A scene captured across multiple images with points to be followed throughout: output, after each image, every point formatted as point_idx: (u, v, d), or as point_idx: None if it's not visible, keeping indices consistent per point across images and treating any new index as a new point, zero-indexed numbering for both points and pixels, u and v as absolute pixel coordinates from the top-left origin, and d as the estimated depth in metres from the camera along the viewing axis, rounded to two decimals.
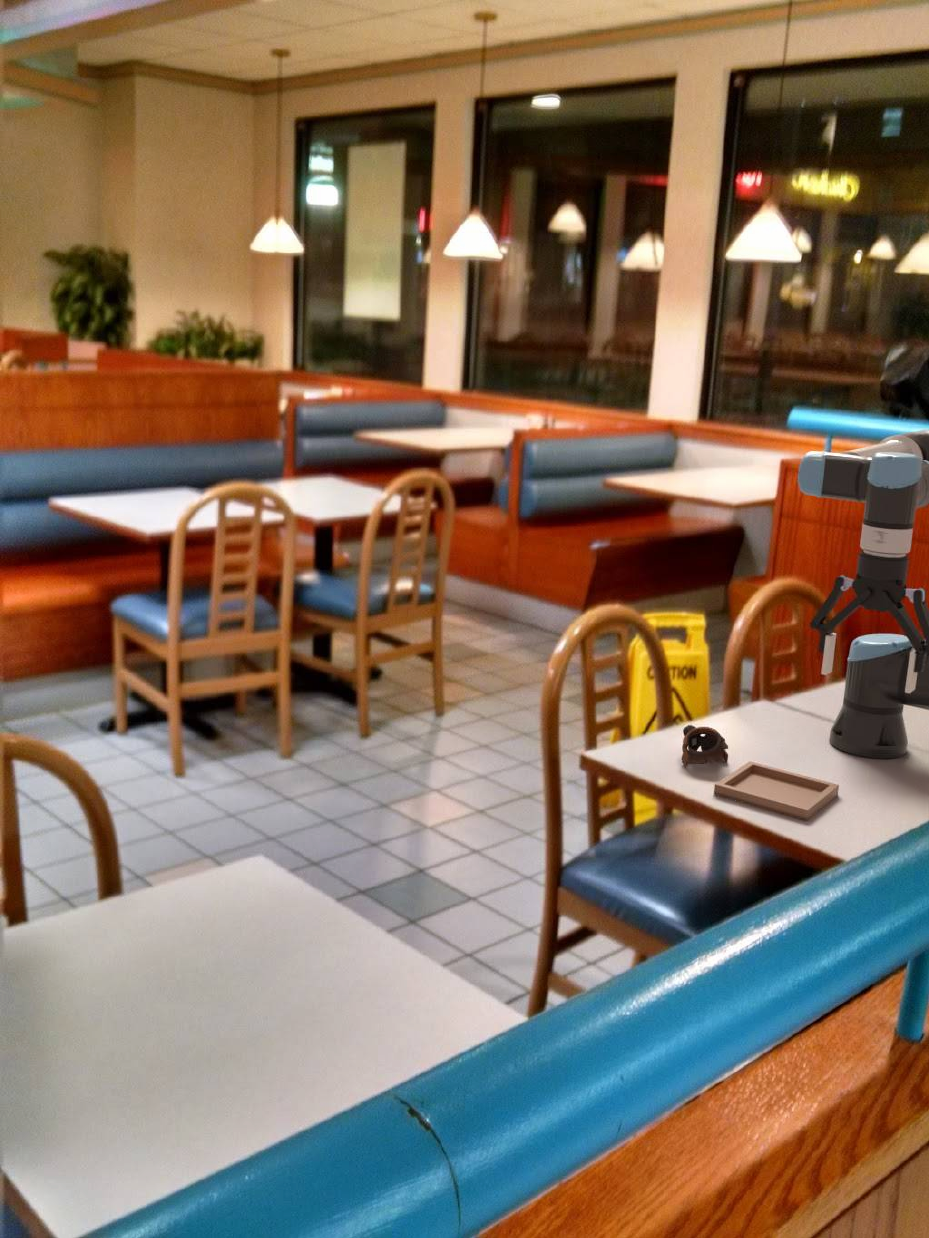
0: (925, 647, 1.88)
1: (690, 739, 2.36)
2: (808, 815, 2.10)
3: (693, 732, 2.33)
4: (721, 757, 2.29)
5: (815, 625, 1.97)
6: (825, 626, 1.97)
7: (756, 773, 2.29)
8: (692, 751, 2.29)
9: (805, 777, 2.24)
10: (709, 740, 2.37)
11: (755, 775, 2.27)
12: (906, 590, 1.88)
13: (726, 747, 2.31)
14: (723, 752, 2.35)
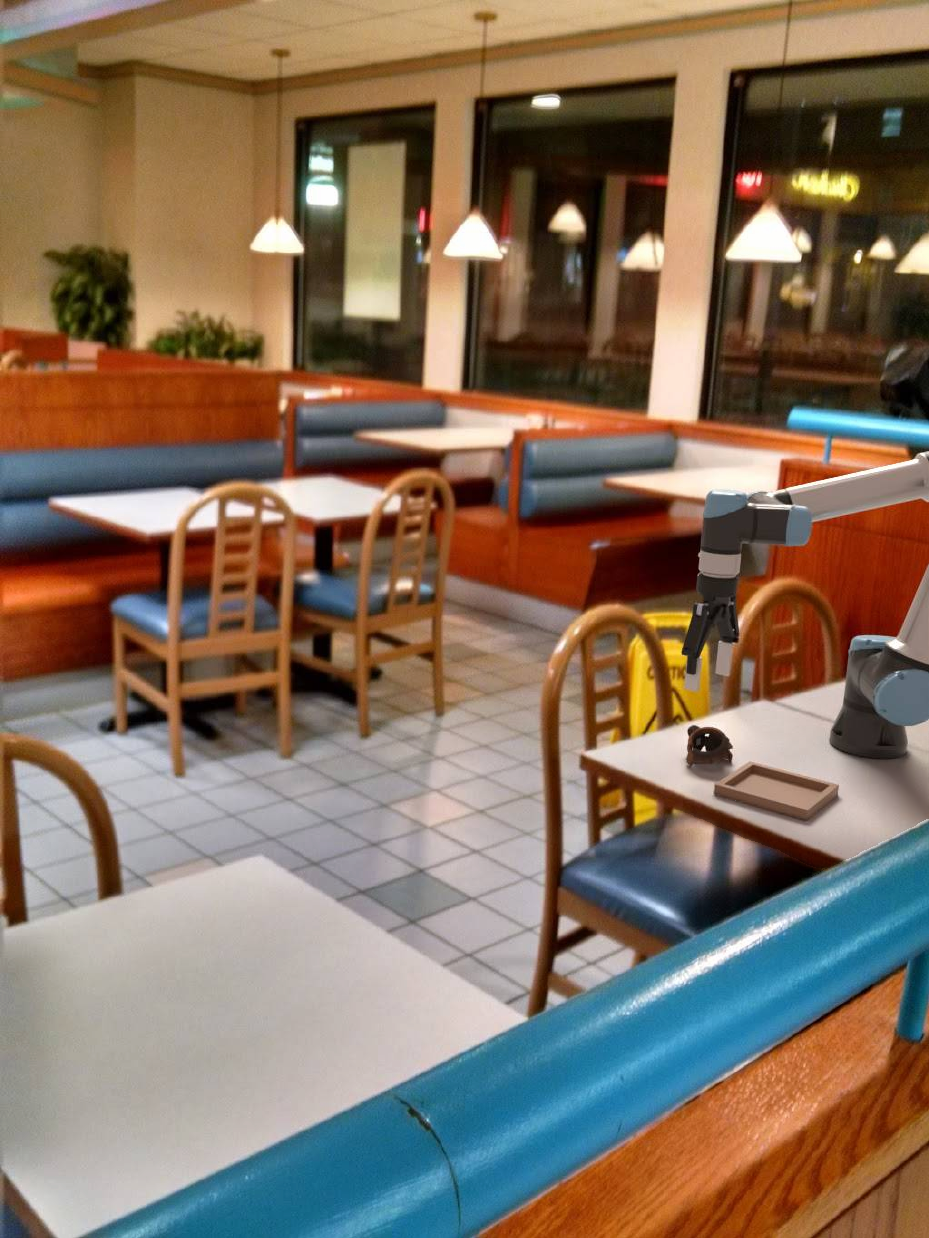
0: None
1: (694, 739, 2.36)
2: (808, 815, 2.10)
3: (698, 732, 2.33)
4: (726, 757, 2.29)
5: None
6: None
7: (756, 773, 2.29)
8: (697, 751, 2.29)
9: (805, 777, 2.24)
10: (713, 740, 2.37)
11: (755, 775, 2.27)
12: (703, 604, 2.24)
13: (731, 747, 2.31)
14: (727, 752, 2.35)
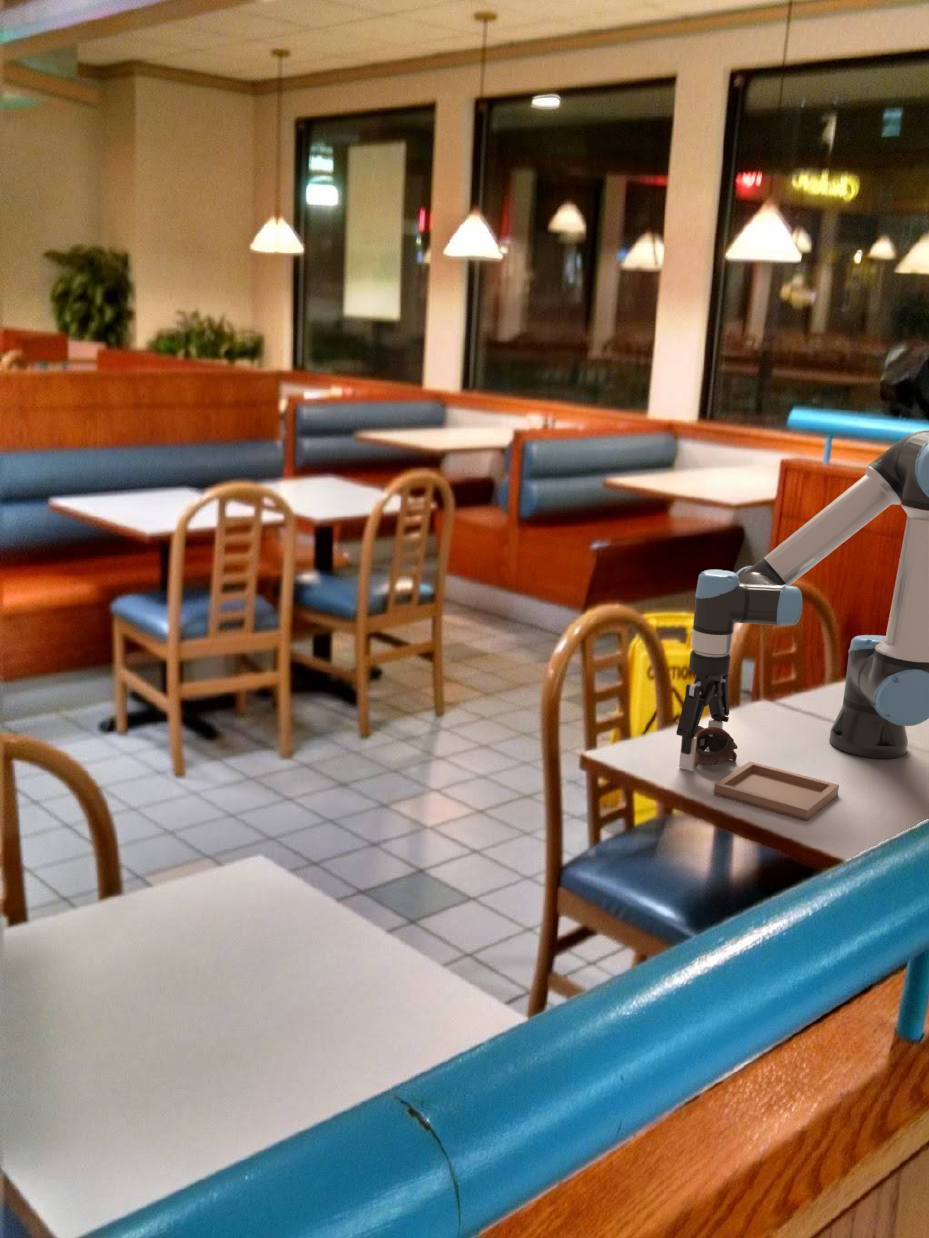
0: None
1: (698, 740, 2.36)
2: (808, 815, 2.10)
3: (702, 733, 2.33)
4: (731, 757, 2.29)
5: None
6: None
7: (756, 773, 2.29)
8: (702, 752, 2.29)
9: (805, 777, 2.24)
10: (717, 740, 2.37)
11: (755, 775, 2.27)
12: (695, 683, 2.28)
13: (735, 747, 2.31)
14: (731, 752, 2.35)
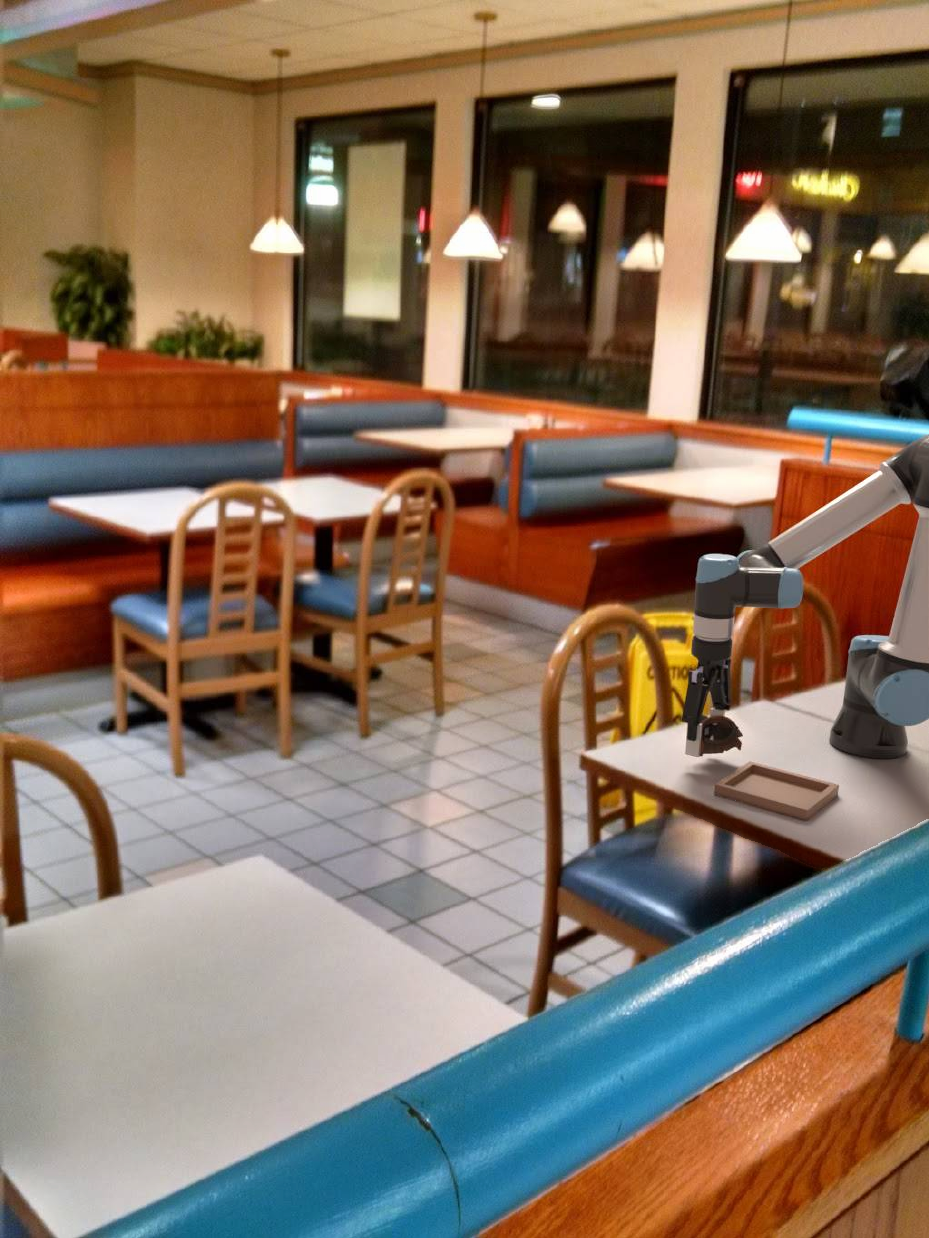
0: None
1: (703, 729, 2.34)
2: (808, 815, 2.10)
3: (706, 721, 2.32)
4: (737, 745, 2.28)
5: None
6: None
7: (756, 773, 2.29)
8: (708, 741, 2.28)
9: (805, 777, 2.24)
10: (721, 729, 2.35)
11: (755, 775, 2.27)
12: (698, 669, 2.27)
13: (741, 735, 2.30)
14: (736, 740, 2.34)
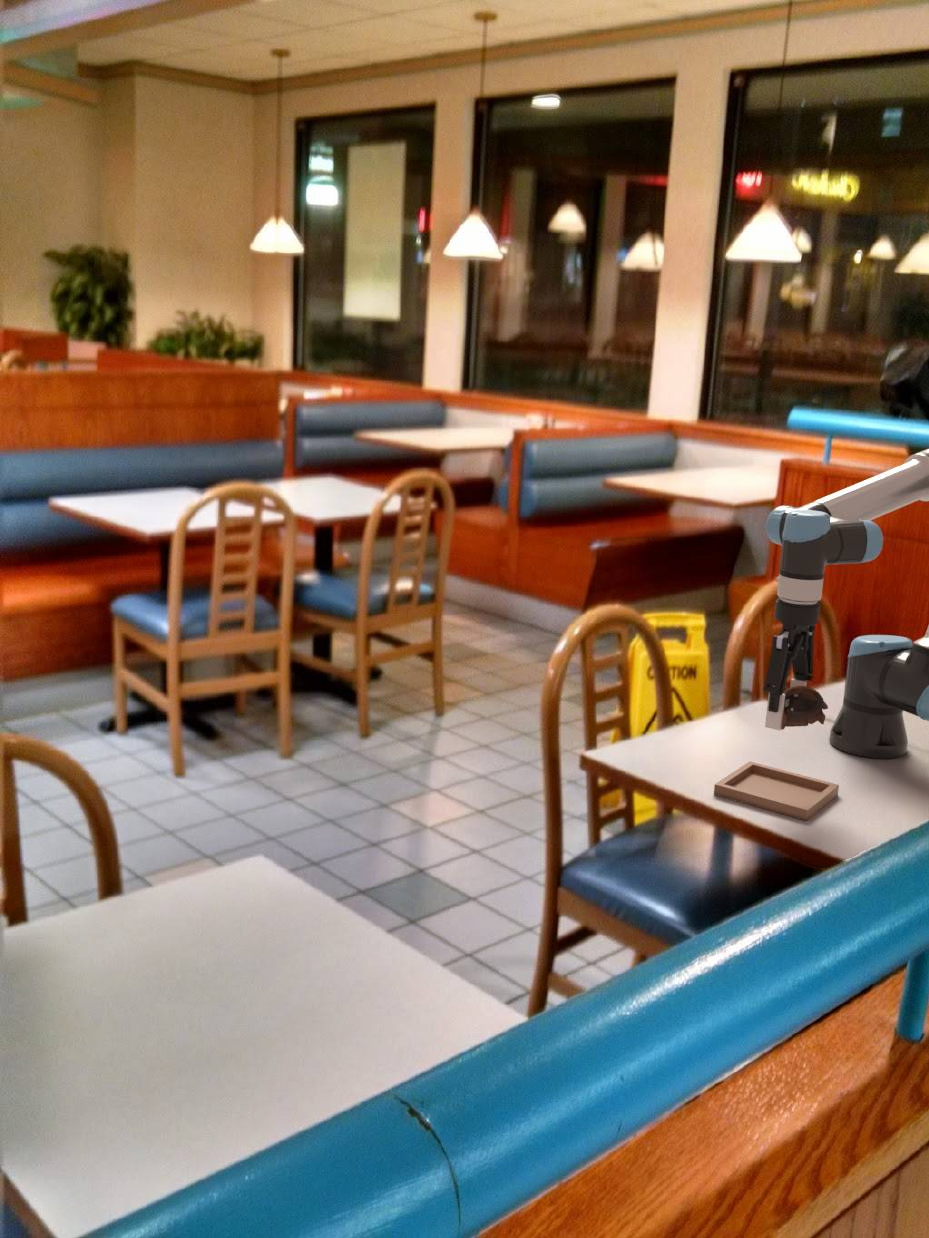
0: None
1: None
2: (808, 815, 2.10)
3: (789, 692, 2.14)
4: (823, 718, 2.10)
5: None
6: None
7: (756, 773, 2.29)
8: (791, 712, 2.10)
9: (805, 777, 2.24)
10: (803, 701, 2.17)
11: (755, 775, 2.27)
12: (782, 634, 2.09)
13: (826, 707, 2.12)
14: None
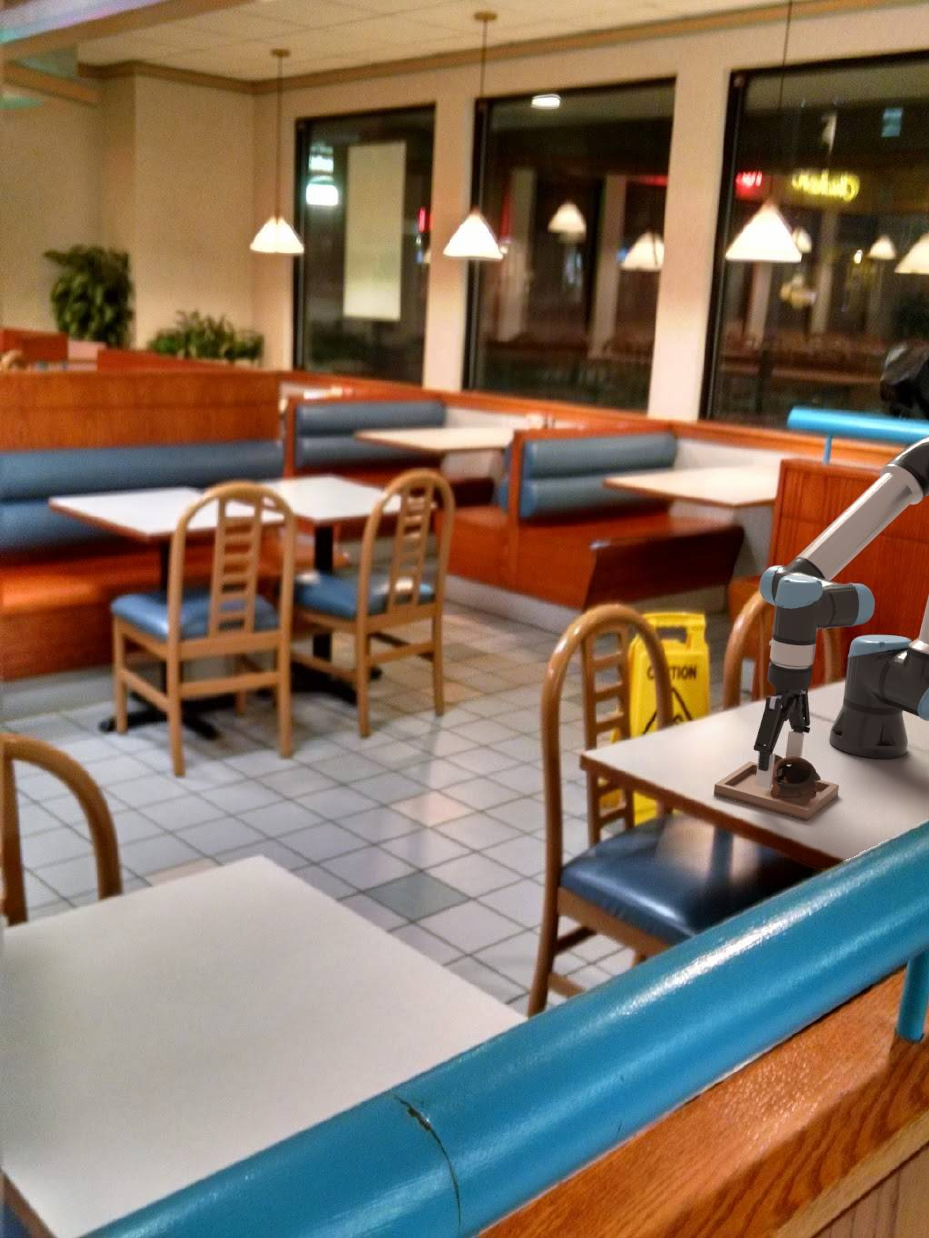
0: None
1: None
2: (808, 815, 2.10)
3: (782, 763, 2.17)
4: (815, 789, 2.14)
5: None
6: None
7: None
8: (785, 784, 2.13)
9: None
10: (796, 770, 2.21)
11: (755, 775, 2.27)
12: (776, 696, 2.12)
13: (819, 778, 2.15)
14: None
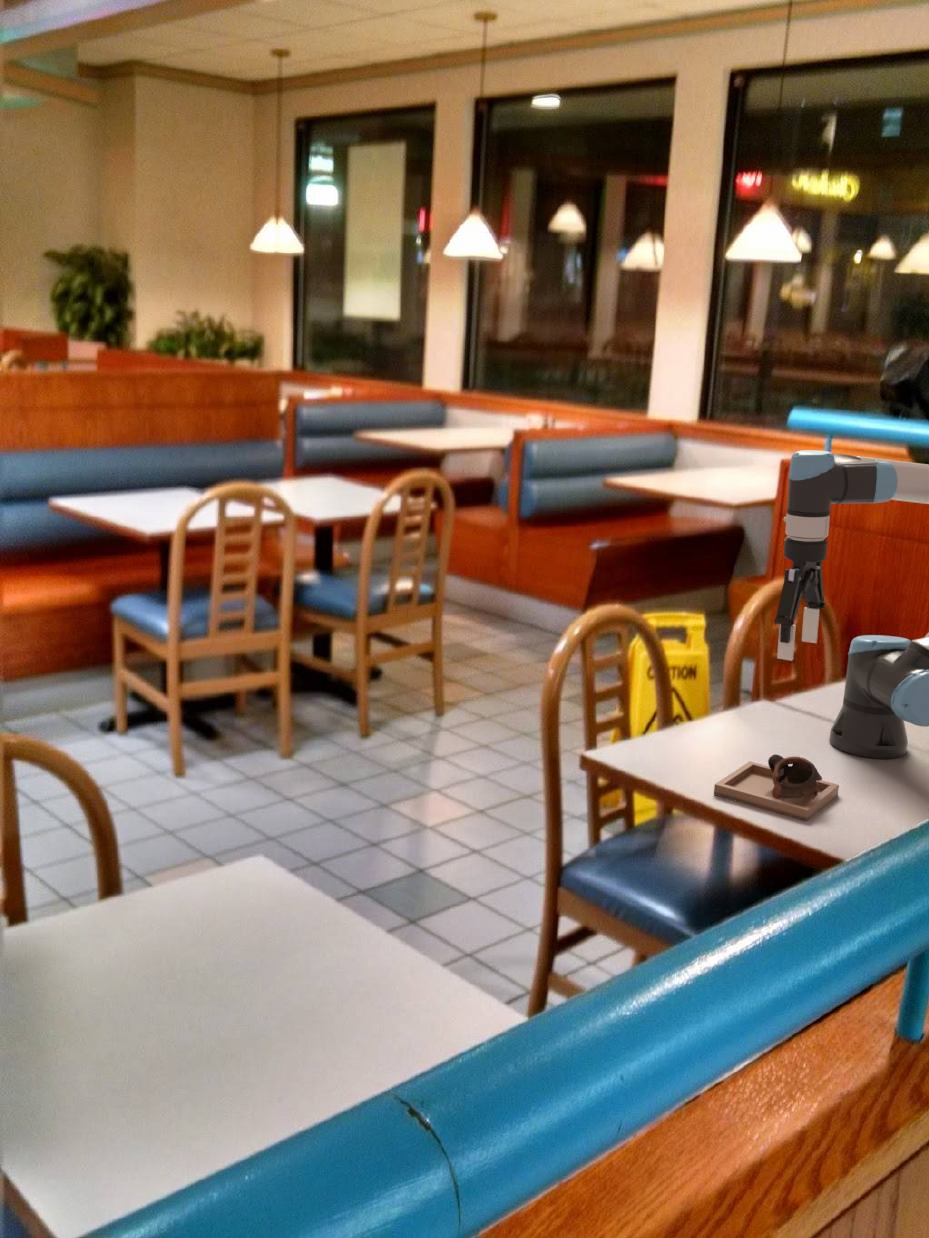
0: None
1: None
2: (808, 815, 2.10)
3: (783, 763, 2.17)
4: (817, 789, 2.14)
5: None
6: None
7: (756, 773, 2.29)
8: (786, 784, 2.13)
9: None
10: (797, 770, 2.21)
11: (755, 775, 2.27)
12: (793, 570, 2.17)
13: (820, 778, 2.15)
14: None
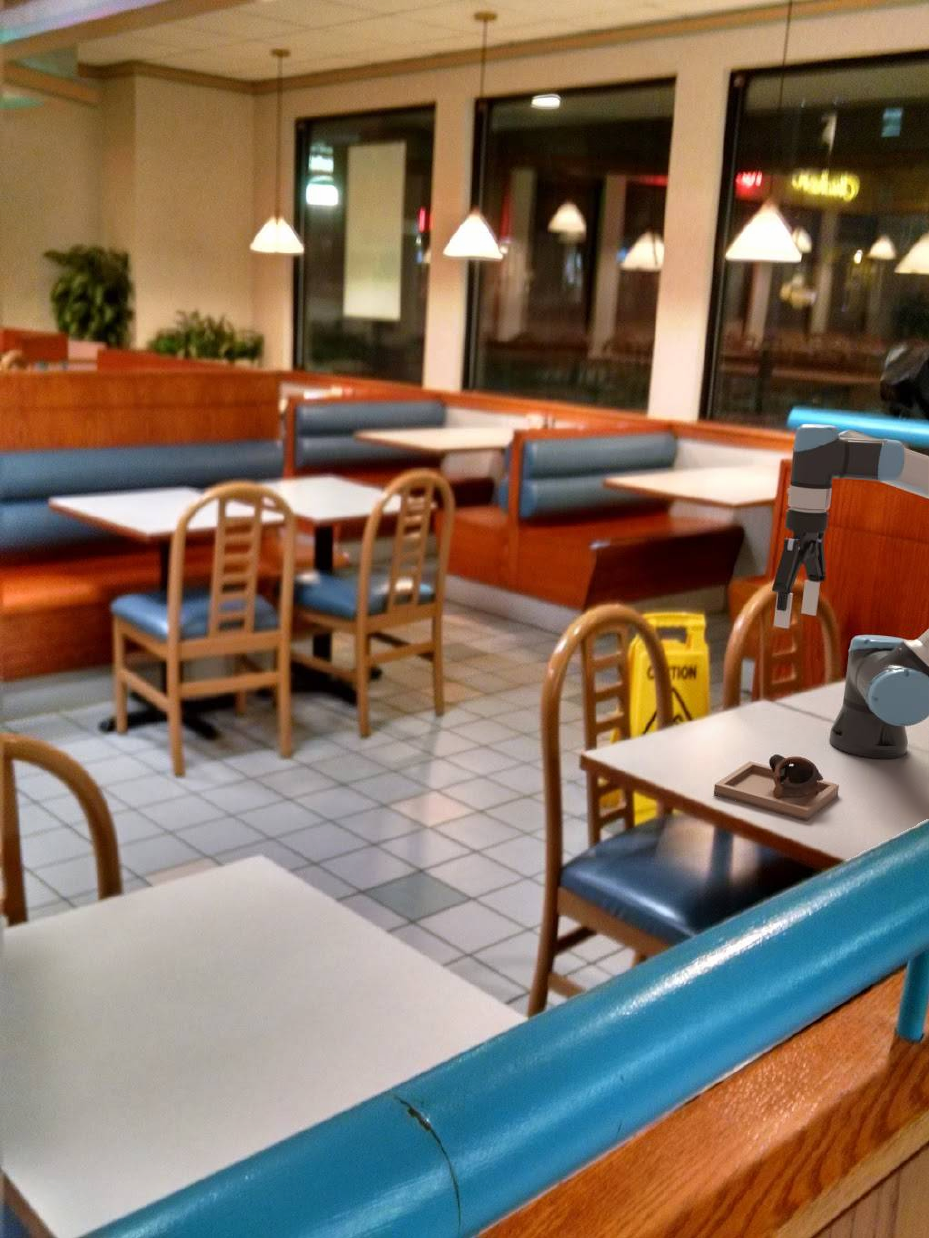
0: None
1: None
2: (808, 815, 2.10)
3: (784, 763, 2.17)
4: (818, 789, 2.14)
5: None
6: None
7: (756, 773, 2.29)
8: (787, 784, 2.13)
9: None
10: (798, 770, 2.21)
11: (755, 775, 2.27)
12: None
13: (821, 778, 2.15)
14: None
